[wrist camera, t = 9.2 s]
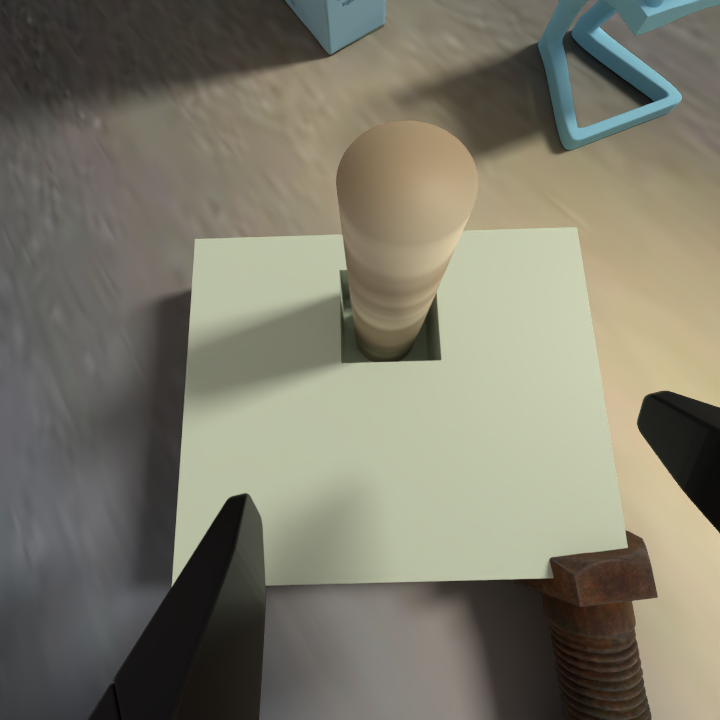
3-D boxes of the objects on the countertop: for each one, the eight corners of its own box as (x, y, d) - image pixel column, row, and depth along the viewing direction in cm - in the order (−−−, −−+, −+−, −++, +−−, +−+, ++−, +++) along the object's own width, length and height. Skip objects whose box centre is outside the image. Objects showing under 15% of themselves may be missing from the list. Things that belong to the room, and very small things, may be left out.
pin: (416, 363, 21) (485, 242, 8) (356, 365, 21) (337, 248, 8) (413, 305, 21) (471, 117, 9) (354, 308, 21) (335, 123, 9)
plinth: (572, 546, 20) (632, 576, 15) (214, 556, 20) (171, 588, 15) (535, 269, 23) (576, 227, 18) (227, 278, 23) (195, 239, 19)
